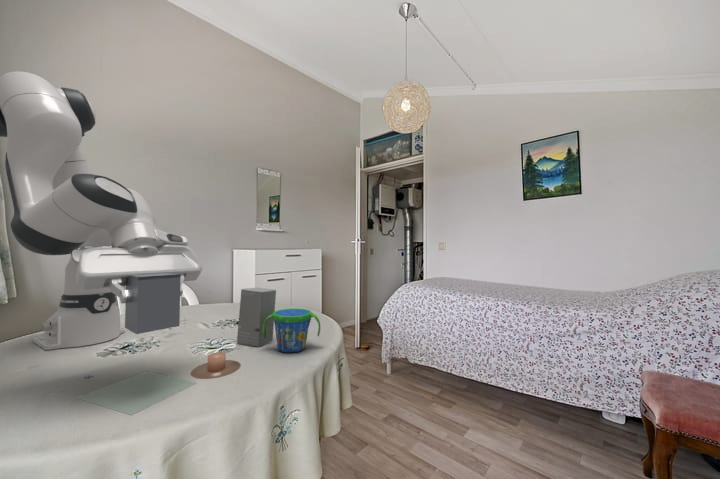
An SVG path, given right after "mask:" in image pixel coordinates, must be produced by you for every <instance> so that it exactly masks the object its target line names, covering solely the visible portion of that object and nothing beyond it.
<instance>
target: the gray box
mask: <svg viewBox="0 0 720 479" xmlns="http://www.w3.org/2000/svg"><path fill="white" fill-rule="evenodd" d="M180 279H181V274H175V273H161V274H144V275H129V277H127V278H126V286H125V290H132V294H133V300H132V302H131V303H124V304H125V308H124V312H125V315H124V329H127V330H128V331H130V332H132V333H133V334H135V335H139V334H145V333H149V332H155V331H160V330H164V329H165V330H166V329H171V328H177V327H180V322H181V321H180V318H181V317H180V316H181V312H180V311H181V310H180V309H181V297H180Z"/></svg>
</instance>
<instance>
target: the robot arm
mask: <svg viewBox="0 0 720 479" xmlns="http://www.w3.org/2000/svg"><path fill="white" fill-rule="evenodd" d="M95 125H96V110H95V109H94V107H93V104H92V103H91V102H90V100H88V98H87V97H86V96H85V95H84V93H82V92H81V91H80V90H78V89H75V88H74V89H73V88H69V87H63V86H62V87H61V88H59V87H58V88H57V87H55V86H54V85H53V84H52V83H51V82H49V81H48V80H46V79H45V78H43V77H42V76H39V75H37V74H35V73H32V72H27V71H22V70H21V71H20V70H19V71H18V70H17V71H16V70H14V71H10V72H6V73H3V75H1V76H0V137H1V138H2V137H3V138H7V141H6V152H5V162H4V165H5V172H6V177H7V182H8V186H9V190H10V195H11V201H12V205H13V216H12V219H11V221H10V230H11V232H12V235H13V237H14V239H15V240H16V242H18V244H20V245H21V247H23V248H25V249H26V250H28V251H30V252H31V253H35V254H39V255H45V256H67V255H70V257H69V258H70V259H69V261H68V262H67V264H66V266H65V270H64V287H63V288H64V290H63V291H64V292H63V294H62V295H60V297H61V298H60V300H59V304H58V306H59V309H58V310H56V311H55V312H54V313H53V314H52V315H51V316H50V317H49V318H47V319H46V320H45V322H43V323H41V324H40V325H41V326H40V330H41V331H42V332H44V334H42V335H38V336H34V337H33V339H32V343H35V344H36V345H37V346H39V347H40V348H42V350H45V351H49V350H55V349H56V350H57V349H62V348H63V349H64V348H77V347H83V346H91V345H95V344H100V343H104V342H108V341H112V340H113V339H117V338H118V337H120V335H121V334H123V333H125V327H124V328H122V326H121V325H122V324H121V311H120V307H119V306H117V305H116V304H115V303H116V302H117V297H118V298H119V301H120V304H123V305H124V304H126V303H131V302H132V300H133V294H132V290H126V288H124V287H126V278H127V277H129V275H144V274H161V273H175V274H181V279H180V298H181V297H182V295H183V293H184V289H183V287H182V285H183V284H184V283H183V282H191V281H192V282H193V281H196V280H197V279H198V278H199V276H201V273H202V271H203V265H202V263H201V261H200V259H199V257H198V255H197V253H196V251H195V250H194V249H193V248H192V247H190V246H189V245H188V244H189V241H188V238H187V237H186V236H181V235H178V234H173V233H169V232H167V231H163V230H161V229H159V228H158V227H157V225H156V219H155V218H156V217H155V216H154V213H153V210H152V208H151V206H150V205H149V203H148V202H147V200H146V198H144V196H143V195H142V194H141V193H140V192H138V191H136V190H135V189H132V188H130V187H129V188H128V187H126V186H124V185H123V184H121V183H119V182H117V181H115V180H114V179H111V178H109V177H107V176H103V175H99V174H98V175H97V174H93V172H92V170H91V168H90V166H89V163H88V161H87V158H86V157H85V155H84V153H83V151H82V150H81V148H80V145H81V142H82V139H83V138H84V136H85V133H87V132H89V131H91V130H92V129H93V128H94V127H95Z"/></svg>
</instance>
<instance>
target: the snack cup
mask: <svg viewBox="0 0 720 479" xmlns="http://www.w3.org/2000/svg"><path fill="white" fill-rule="evenodd" d="M269 318H273V319H274V330H275V331H274V332H275V338H276V346H277V349H278V351H280V352H282V353H294V352H296V353H297V352H298V353H299V352H300V351H303V350H304V349H305V348H306V346H307V345H306V344H307V339H308V333H309V327H310V324H311V320H312V318H314V319H315V320H316V322H317V323H318V330H317V337H320V334H321V321H320V319H319V317H318V316H317V315H316V314H315V313H313V312H312V311H311V310H309V309H306V308H305V309H304V308H283V309H279V310H276V311H275V312H274V313H273V314H271V315H270V316H268V317H267V318H266V320H265V322H264V324H263V337H264V338H266V322H267V320H268V319H269Z"/></svg>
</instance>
